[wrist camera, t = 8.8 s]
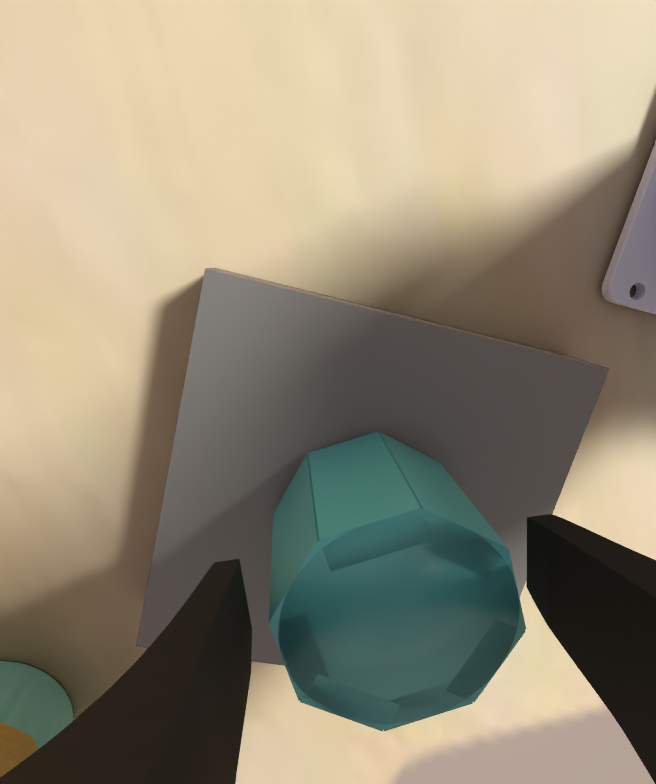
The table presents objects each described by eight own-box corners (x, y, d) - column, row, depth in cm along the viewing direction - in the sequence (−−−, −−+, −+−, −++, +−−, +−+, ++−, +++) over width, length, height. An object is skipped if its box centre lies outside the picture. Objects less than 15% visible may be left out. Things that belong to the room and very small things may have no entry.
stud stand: (570, 356, 16) (728, 407, 10) (462, 647, 19) (540, 816, 13) (215, 268, 14) (170, 270, 9) (152, 603, 17) (86, 774, 11)
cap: (429, 415, 14) (495, 484, 10) (465, 564, 15) (537, 682, 11) (256, 468, 14) (244, 562, 9) (309, 612, 15) (319, 751, 11)
